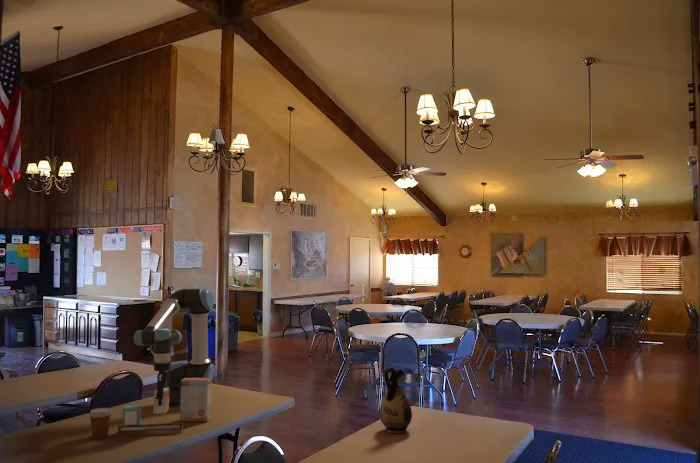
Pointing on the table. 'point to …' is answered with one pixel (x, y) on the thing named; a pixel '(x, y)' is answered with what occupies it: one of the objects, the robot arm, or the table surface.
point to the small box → (165, 401)
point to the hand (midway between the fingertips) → (161, 409)
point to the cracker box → (195, 399)
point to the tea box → (131, 415)
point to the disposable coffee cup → (100, 422)
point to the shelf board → (150, 429)
